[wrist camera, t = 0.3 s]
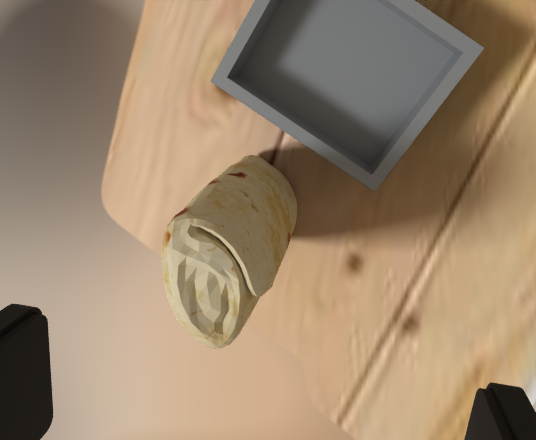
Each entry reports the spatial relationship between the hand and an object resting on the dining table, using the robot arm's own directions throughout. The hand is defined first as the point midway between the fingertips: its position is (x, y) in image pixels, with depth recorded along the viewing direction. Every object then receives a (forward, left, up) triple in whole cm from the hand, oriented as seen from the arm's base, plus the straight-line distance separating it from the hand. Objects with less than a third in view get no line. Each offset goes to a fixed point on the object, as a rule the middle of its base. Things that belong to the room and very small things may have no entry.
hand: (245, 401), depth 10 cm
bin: (-6, -3, -36) cm, 36 cm away
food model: (+8, -2, -36) cm, 37 cm away
